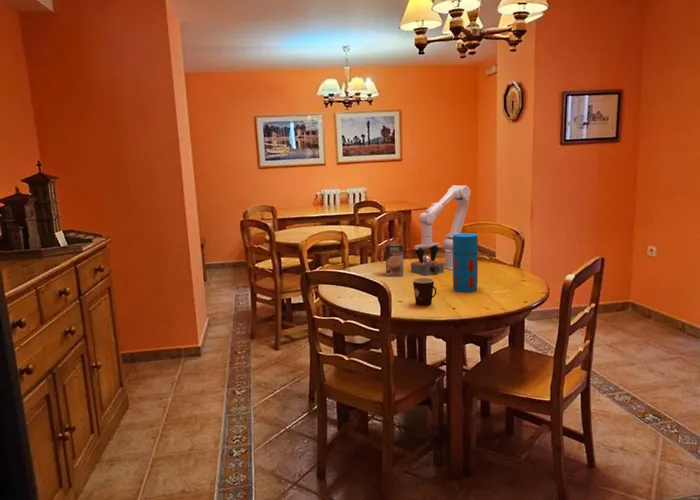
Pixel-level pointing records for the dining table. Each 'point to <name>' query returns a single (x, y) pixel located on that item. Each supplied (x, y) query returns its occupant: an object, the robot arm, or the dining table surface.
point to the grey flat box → (427, 268)
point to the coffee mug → (423, 291)
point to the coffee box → (394, 259)
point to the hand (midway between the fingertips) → (427, 261)
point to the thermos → (465, 262)
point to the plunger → (426, 259)
